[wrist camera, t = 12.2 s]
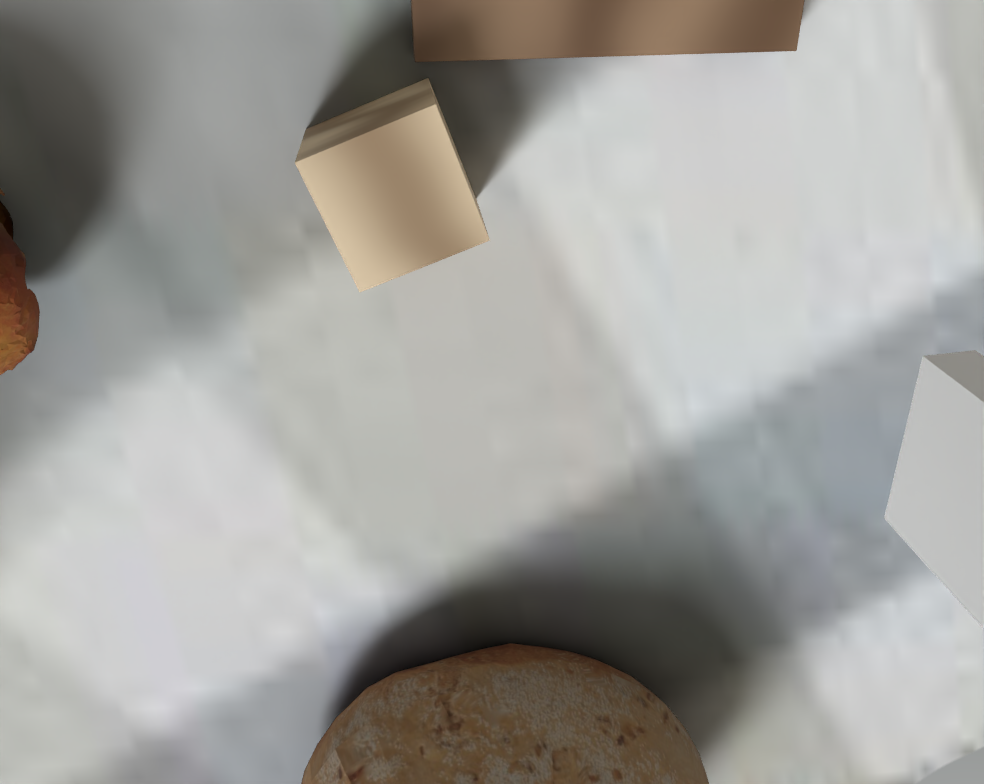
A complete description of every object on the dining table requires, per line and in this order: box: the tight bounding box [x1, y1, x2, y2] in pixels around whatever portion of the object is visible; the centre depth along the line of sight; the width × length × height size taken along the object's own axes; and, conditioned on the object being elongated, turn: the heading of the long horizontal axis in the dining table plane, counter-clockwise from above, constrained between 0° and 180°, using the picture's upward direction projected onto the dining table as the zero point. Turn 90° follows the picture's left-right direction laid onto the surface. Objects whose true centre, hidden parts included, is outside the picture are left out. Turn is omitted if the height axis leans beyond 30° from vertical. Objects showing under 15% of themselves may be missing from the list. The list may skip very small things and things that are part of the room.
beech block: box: [295, 78, 490, 292], centre depth 31 cm, size 5×5×5 cm
